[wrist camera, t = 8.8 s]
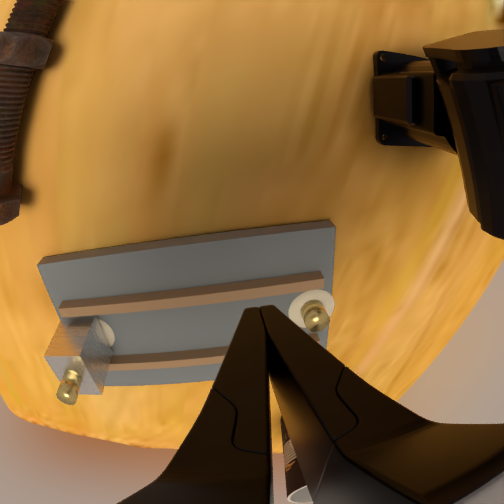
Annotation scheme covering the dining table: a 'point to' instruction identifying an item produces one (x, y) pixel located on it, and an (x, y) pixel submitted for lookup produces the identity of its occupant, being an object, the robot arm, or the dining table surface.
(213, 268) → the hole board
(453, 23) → the dining table surface
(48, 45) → the bolt
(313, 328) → the fixed brass pin
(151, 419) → the dining table surface
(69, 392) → the sliding pin block
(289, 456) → the coffee mug
